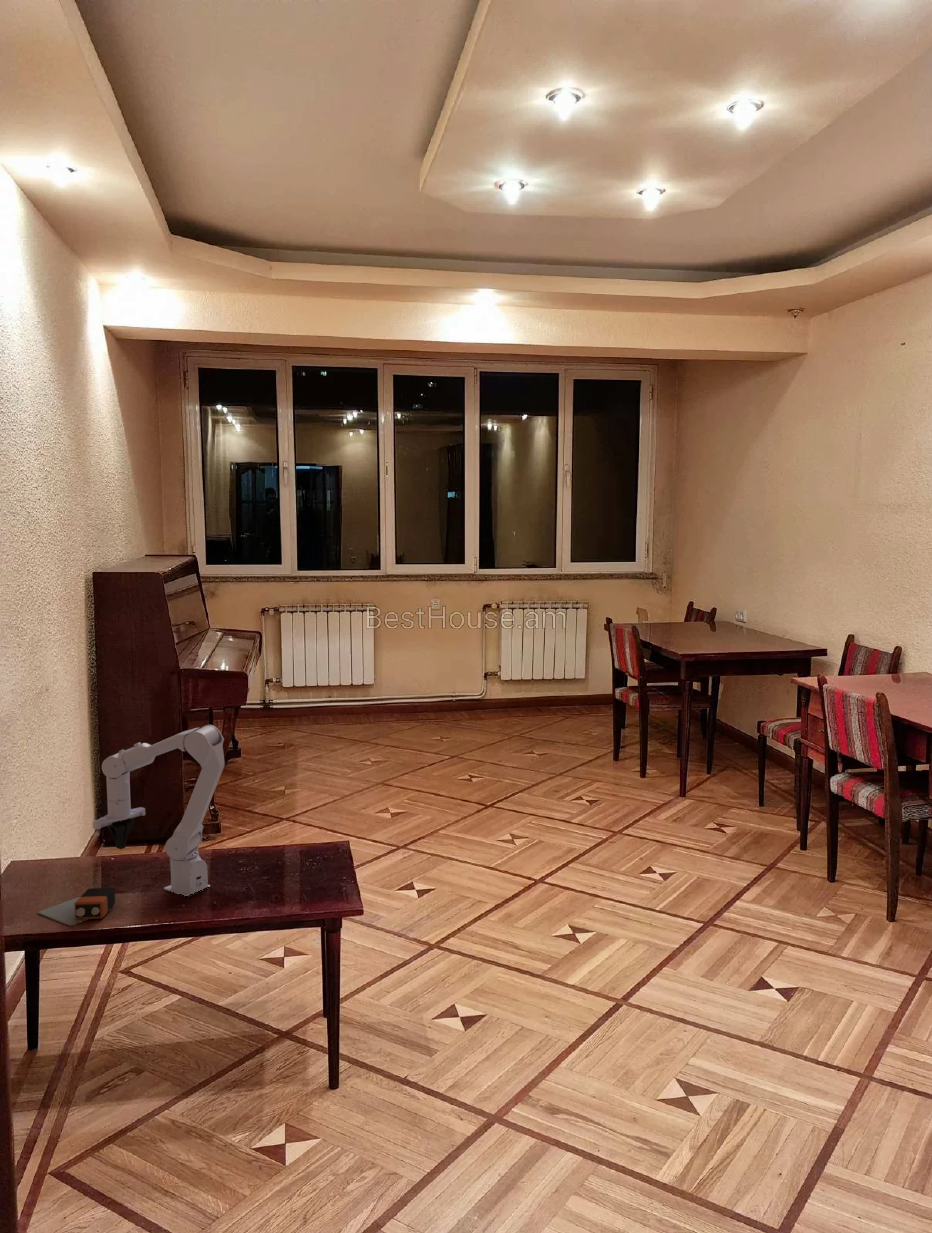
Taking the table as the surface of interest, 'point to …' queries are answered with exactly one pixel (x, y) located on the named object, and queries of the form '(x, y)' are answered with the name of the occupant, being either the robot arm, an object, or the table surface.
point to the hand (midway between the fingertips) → (120, 847)
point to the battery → (94, 903)
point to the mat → (63, 913)
